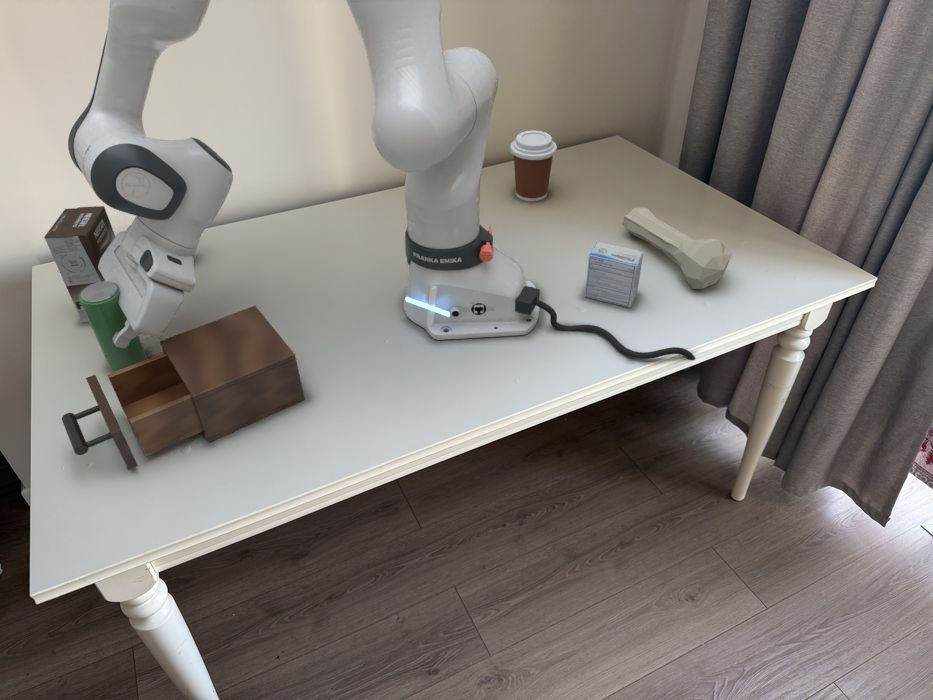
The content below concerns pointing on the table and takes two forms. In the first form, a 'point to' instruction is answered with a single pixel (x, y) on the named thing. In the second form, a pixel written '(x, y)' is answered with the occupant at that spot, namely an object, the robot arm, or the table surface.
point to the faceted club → (681, 248)
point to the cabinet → (235, 371)
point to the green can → (110, 324)
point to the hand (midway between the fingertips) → (109, 327)
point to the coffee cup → (532, 164)
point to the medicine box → (613, 274)
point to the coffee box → (80, 248)
